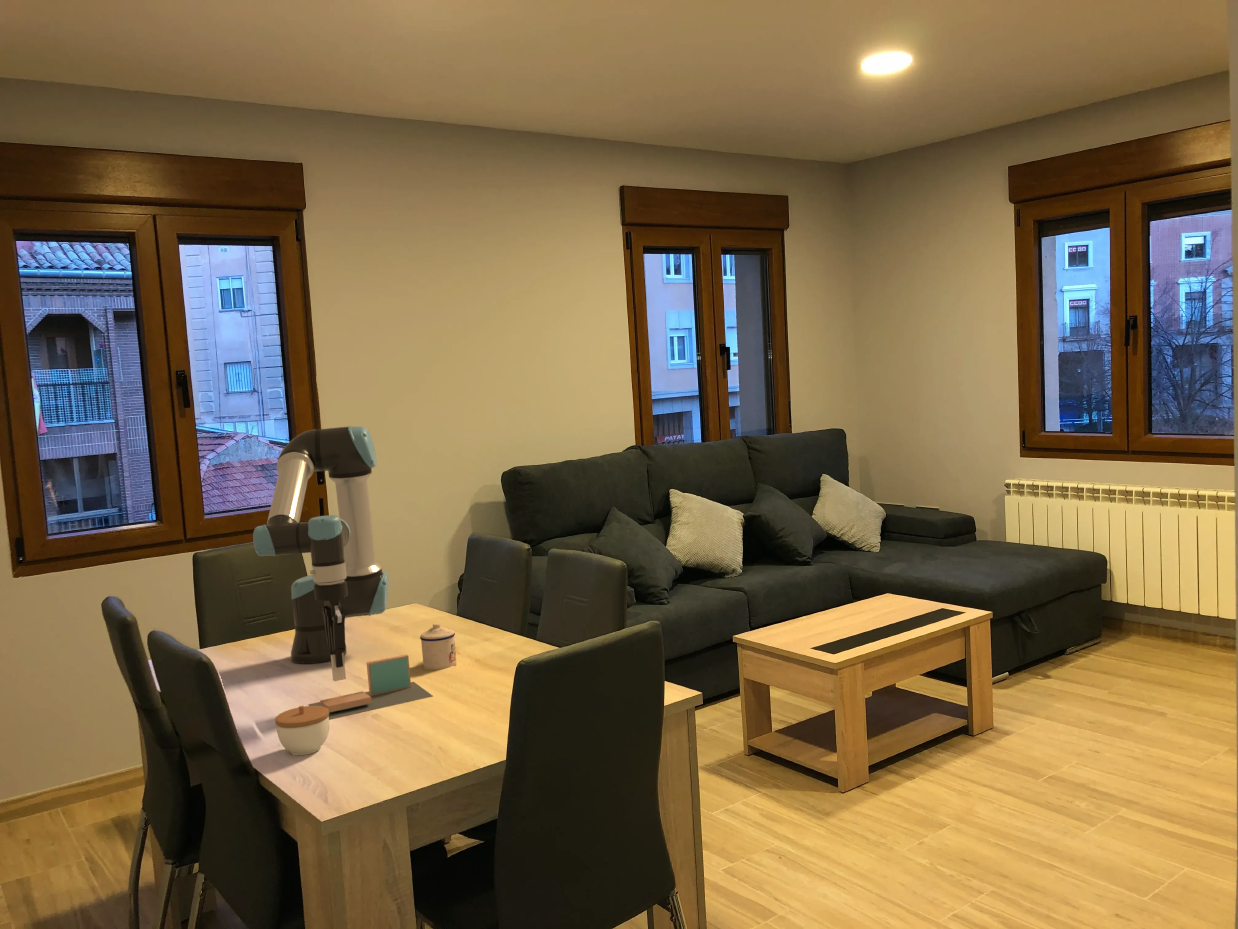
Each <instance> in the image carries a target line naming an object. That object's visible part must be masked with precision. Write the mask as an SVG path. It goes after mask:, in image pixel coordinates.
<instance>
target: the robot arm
mask: <svg viewBox="0 0 1238 929" xmlns="http://www.w3.org/2000/svg"><path fill="white" fill-rule="evenodd" d="M376 454H377V453H376V450H375V445H374V441H373V438H372V435H371V433H370V431H369V430H368V429H367V427H365V426H352V425H351V426H350V425H349V426H340V427H327V428H316V429H309V430H306V431H303V432H301V433H299V434H298V435H296V436H295V437H293V438H292V439H290V441H289V442H288V443H287V444H286V445H285V446H284V448H282V450H281V451H280V454H279V456H278V459H277V462H276V469H277V470H276V471H277V473H278V476H277V480H276V484H275V488H274V492H273V496H272V501H271V503H270V504H271V505H270V509H269V513H268V517H267V521H266V524H262V525H258V526H256V527H255V528H254V530H253V534H252V539H253V540H252V541H253V542H252V543H253V548H254V551H255V553H256V555H257V556H259V557H268V556H269V557H271V556H272V557H277V556H287V555H296V554H307V553H310V557H311V568H312V569H311V570H310V571H309V575H307V576H303V577H300V578H298V579H296V580H295V581H294V582H292V583H291V584H292V585H291V587H290V589H291V590H290V591H291V592H290V593H291V598H290V599H291V603H292V610H293V611H292V612H293V613H292V616H293V623H294V637H293V643H292V646H291V650H290V656H291V657H290V659H291V662H293V663H295V664H306V665H307V664H318V663H325V662H328V661H330V662H331V672H332V673H331V674H332V681H333V682H339V681H344V680H347V677H346V676H347V675H346V667H345V666H346V665H345V655H346V654H347V644H346V627H345V624H346V623H345V621H346V618H355V617H356V618H357V617H363V616H365V617H367V616H368V617H370V616H373V615H374V616H375V615H379V614H383V613H385V611H386V609H387V605H388V599H389V598H388V596H389V573H387V572H385V571H383V568H382V565H381V564H380V563H378V562H377V560H376V554H375V545H374V544H375V543H374V542H375V541H374V535H373V525H372V516H371V506H370V499H369V498H370V497H369V487H368V486H369V485H368V479H369V477H370V476H372V473H373V471H372V469H374V468H375V467H377V457H376ZM316 472H328V479H330V480H332V482H334V483H335V484H334V485H335V492H336V500H337V502H336V503H337V510H338V515H335V514H334V515H333V514H330V515H321V516H314V517H311V518H310V519H309V520H308V521H304V522H303V521H302V522H301V521H300V520H301V515H302V510H303V506H304V500H305V496H306V491H307V487H308V481H309V479H310V478H311V477H312V476H313V474H314V473H316Z"/></svg>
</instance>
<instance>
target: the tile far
mask: <svg viewBox="0 0 1238 929" xmlns="http://www.w3.org/2000/svg"><path fill="white" fill-rule="evenodd" d="M409 658H410V657H409V655H408V654H406V653H405V654H402V655H396V656H393V657H392V656H391V657H386V658H380V659H378V660H377V659H376V660H372V661H371V660H370V661H367V662H366V671H367V673H366V674H367V682H368V683H367V684H368V691H369V695H370V696H373V695H378V694H383V693H387V692H392V691H396V690H401V689H405V688H410V687H411V682H412V680H411V670H410V659H409Z"/></svg>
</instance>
